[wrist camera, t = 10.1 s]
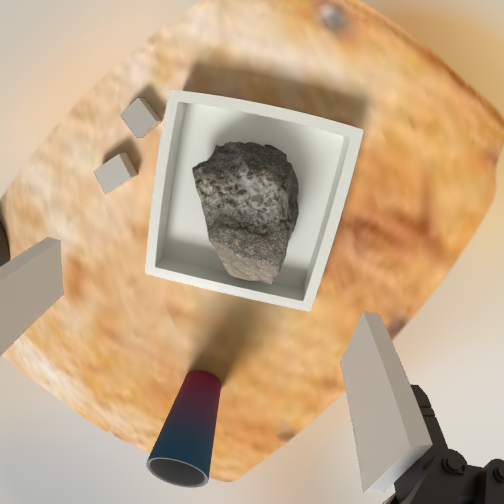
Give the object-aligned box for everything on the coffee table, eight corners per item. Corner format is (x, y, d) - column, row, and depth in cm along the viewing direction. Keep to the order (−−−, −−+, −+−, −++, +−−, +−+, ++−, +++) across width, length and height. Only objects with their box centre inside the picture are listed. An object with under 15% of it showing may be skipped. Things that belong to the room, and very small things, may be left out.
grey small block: (113, 190, 33) (105, 194, 31) (102, 168, 32) (93, 171, 30) (138, 174, 32) (131, 177, 30) (127, 151, 31) (118, 153, 29)
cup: (216, 362, 40) (191, 458, 26) (234, 397, 42) (217, 488, 28) (170, 368, 41) (134, 456, 27) (190, 401, 43) (164, 486, 29)
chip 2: (127, 115, 30) (119, 115, 28) (145, 98, 29) (138, 97, 27) (144, 137, 30) (137, 138, 29) (162, 121, 30) (156, 121, 28)
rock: (193, 151, 29) (173, 158, 23) (283, 126, 28) (286, 126, 22) (233, 277, 34) (224, 310, 28) (314, 259, 33) (323, 289, 27)
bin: (156, 260, 35) (145, 273, 32) (181, 92, 28) (169, 89, 25) (307, 294, 35) (310, 311, 32) (354, 129, 28) (363, 129, 25)
